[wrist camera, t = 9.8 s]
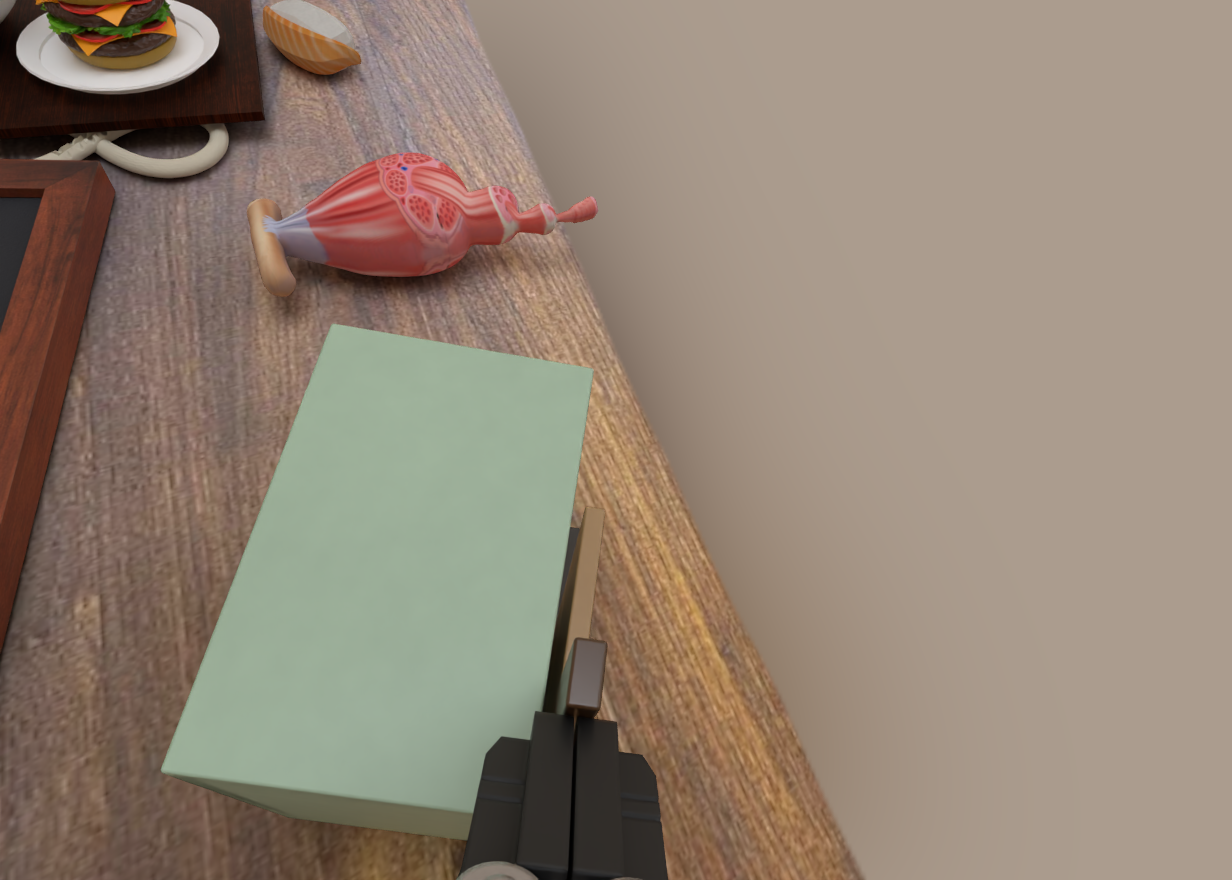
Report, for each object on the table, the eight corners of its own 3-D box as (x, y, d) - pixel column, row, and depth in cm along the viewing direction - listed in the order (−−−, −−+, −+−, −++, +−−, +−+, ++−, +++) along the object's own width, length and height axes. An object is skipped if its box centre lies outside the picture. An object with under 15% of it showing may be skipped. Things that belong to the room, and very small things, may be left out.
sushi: (280, -20, 41) (235, 4, 40) (369, 24, 39) (325, 51, 38) (295, 28, 43) (253, 53, 42) (380, 72, 41) (339, 99, 40)
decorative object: (-63, 172, 33) (-42, 98, 35) (-48, 192, 34) (-30, 118, 36) (225, 164, 36) (225, 96, 38) (231, 182, 37) (231, 114, 39)
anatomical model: (584, 113, 34) (614, 206, 31) (581, 201, 39) (607, 290, 35) (228, 144, 32) (223, 247, 29) (267, 234, 36) (266, 333, 33)
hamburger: (-26, 140, 34) (-106, 12, 29) (4, 6, 40) (-58, -116, 36) (264, 120, 37) (232, 2, 33) (250, -1, 44) (221, -114, 39)
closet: (586, 534, 30) (630, 373, 21) (542, 850, 24) (576, 827, 15) (380, 502, 30) (330, 322, 20) (287, 817, 24) (157, 772, 15)
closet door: (573, 626, 27) (636, 433, 16) (550, 795, 24) (606, 711, 13) (553, 623, 27) (602, 427, 16) (528, 792, 24) (564, 706, 13)
